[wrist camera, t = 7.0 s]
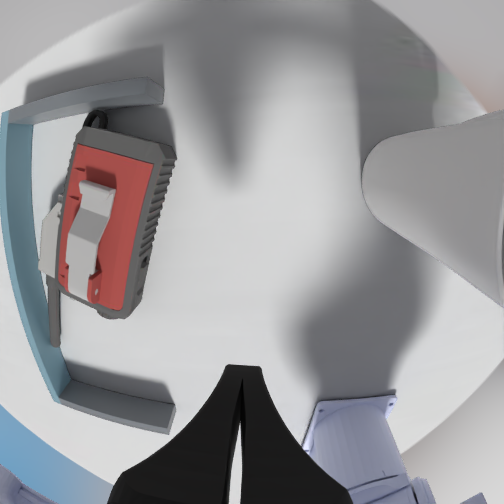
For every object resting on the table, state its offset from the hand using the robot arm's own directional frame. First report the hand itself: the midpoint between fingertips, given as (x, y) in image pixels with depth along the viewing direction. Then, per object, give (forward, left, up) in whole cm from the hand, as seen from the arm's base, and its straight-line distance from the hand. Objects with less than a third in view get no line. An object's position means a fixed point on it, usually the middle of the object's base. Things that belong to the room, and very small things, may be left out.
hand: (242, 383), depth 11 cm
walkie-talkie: (+2, +11, -9) cm, 15 cm away
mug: (+10, -10, -9) cm, 17 cm away
